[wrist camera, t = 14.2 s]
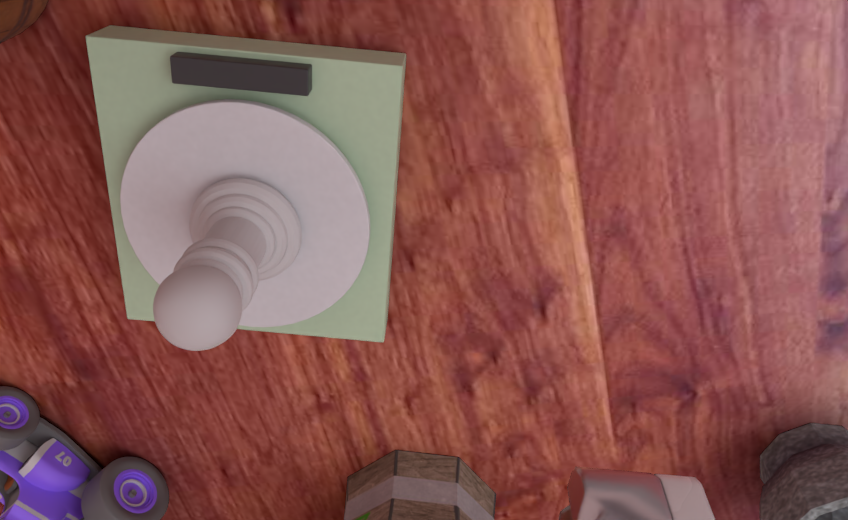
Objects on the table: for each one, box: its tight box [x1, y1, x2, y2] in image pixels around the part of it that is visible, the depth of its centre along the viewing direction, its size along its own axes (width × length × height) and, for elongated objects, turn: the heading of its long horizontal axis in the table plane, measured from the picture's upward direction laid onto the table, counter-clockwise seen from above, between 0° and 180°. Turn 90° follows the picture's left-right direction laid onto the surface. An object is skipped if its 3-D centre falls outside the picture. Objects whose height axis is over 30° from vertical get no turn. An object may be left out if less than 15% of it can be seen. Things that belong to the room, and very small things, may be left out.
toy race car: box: [0, 386, 169, 520], centre depth 44 cm, size 10×15×6 cm, turn 44°
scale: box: [86, 25, 406, 342], centre depth 35 cm, size 15×14×4 cm
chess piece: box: [153, 178, 302, 351], centre depth 30 cm, size 5×5×9 cm
